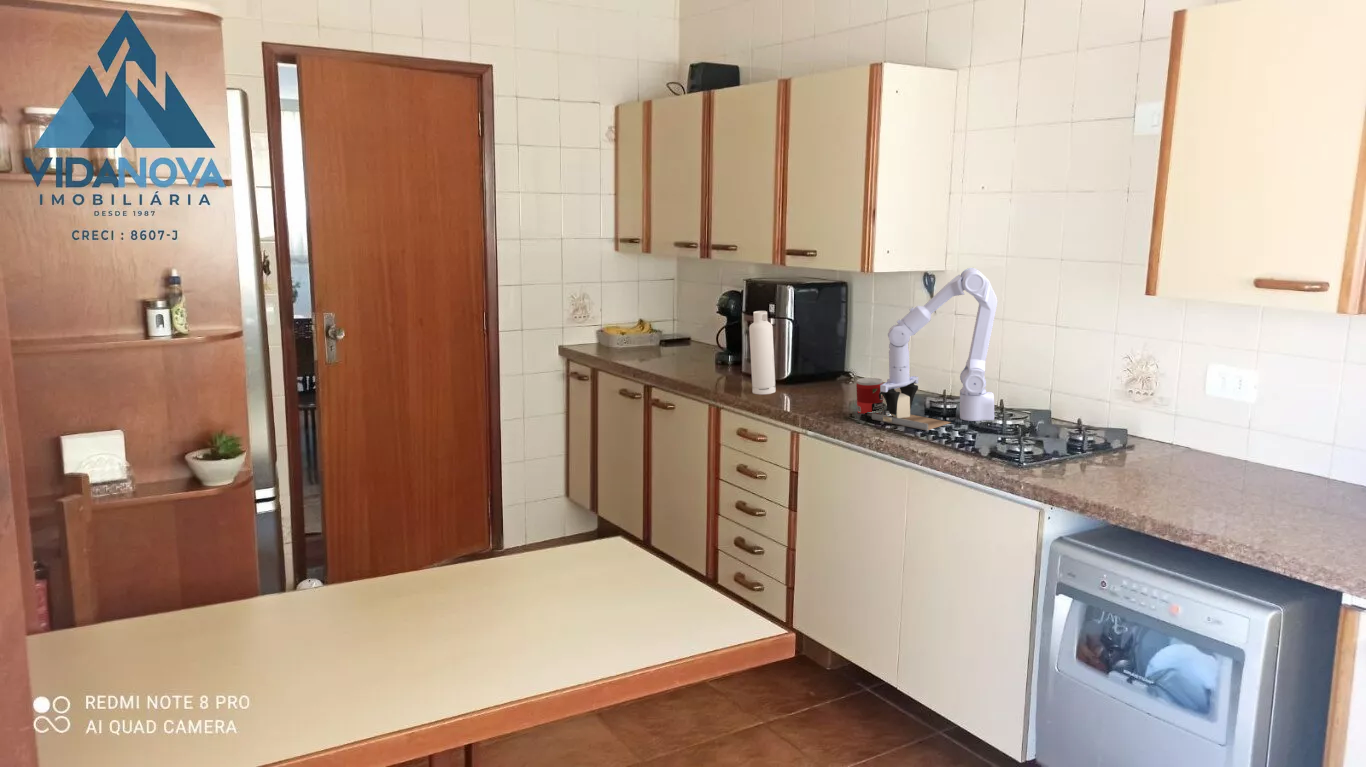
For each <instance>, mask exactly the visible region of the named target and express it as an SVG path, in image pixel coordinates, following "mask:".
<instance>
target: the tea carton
mask: <svg viewBox="0 0 1366 767" xmlns="http://www.w3.org/2000/svg"><path fill="white" fill-rule="evenodd" d="M910 414H911V409H910V397H909V396H907V395H905V394H903V393H901V392H900V394H899V397H898V402H897V413H896V414H891V415H892V416H894V417H897V418H905V417H910Z"/></svg>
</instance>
